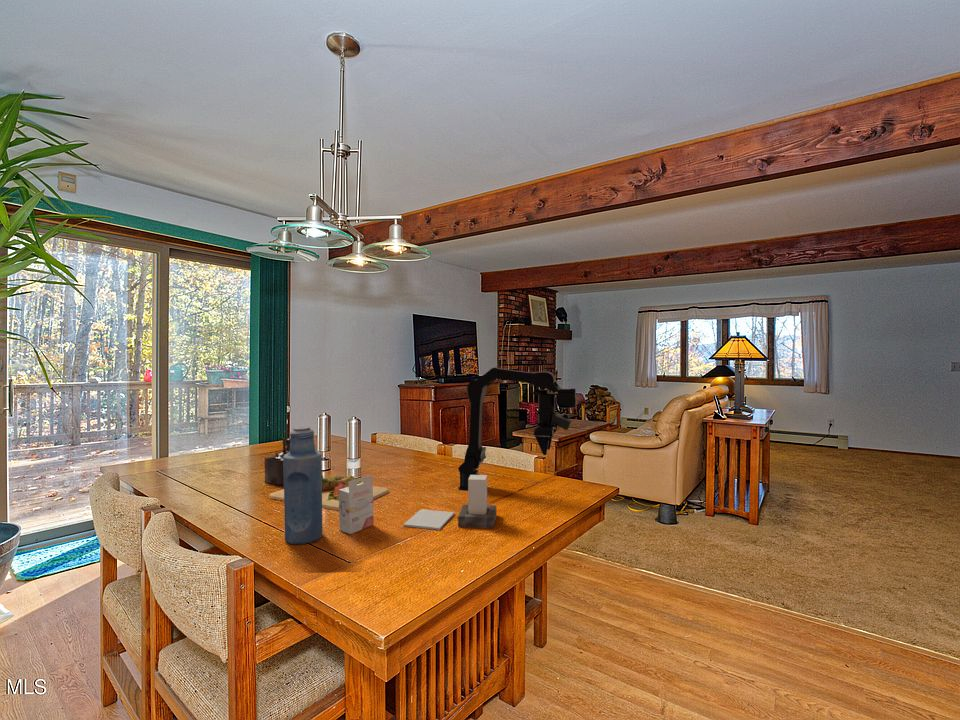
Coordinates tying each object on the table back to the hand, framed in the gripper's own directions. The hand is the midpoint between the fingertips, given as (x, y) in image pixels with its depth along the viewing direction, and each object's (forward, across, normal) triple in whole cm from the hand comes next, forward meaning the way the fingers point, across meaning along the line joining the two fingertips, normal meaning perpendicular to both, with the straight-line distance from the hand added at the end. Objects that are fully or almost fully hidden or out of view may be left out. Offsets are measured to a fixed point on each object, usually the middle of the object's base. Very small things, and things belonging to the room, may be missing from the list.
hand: (546, 452), depth 163 cm
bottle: (+15, -55, +58) cm, 81 cm away
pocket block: (+15, -31, +16) cm, 38 cm away
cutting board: (+16, -20, +73) cm, 78 cm away
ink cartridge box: (+15, -45, +48) cm, 68 cm away
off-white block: (+15, -31, +16) cm, 38 cm away
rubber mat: (+15, -34, +30) cm, 48 cm away
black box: (+15, -10, +98) cm, 100 cm away
